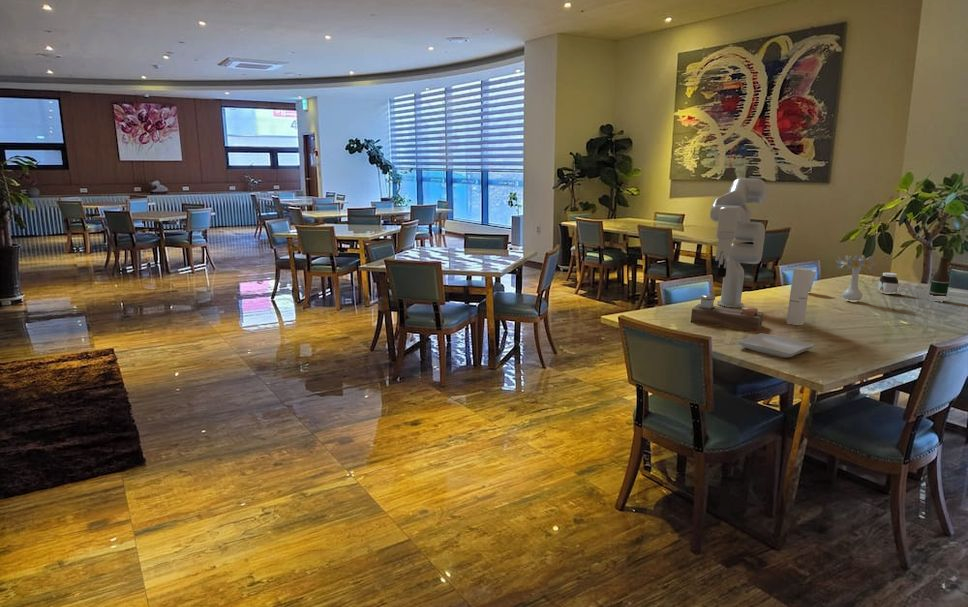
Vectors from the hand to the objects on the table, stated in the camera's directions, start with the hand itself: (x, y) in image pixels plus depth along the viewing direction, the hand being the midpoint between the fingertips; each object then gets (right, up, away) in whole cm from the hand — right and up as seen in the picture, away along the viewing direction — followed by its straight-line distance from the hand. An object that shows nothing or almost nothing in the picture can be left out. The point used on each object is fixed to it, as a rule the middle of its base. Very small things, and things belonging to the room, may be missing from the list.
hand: (721, 276), depth 273 cm
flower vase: (+90, -11, +55) cm, 106 cm away
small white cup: (-4, -15, +6) cm, 16 cm away
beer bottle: (+140, -11, +61) cm, 153 cm away
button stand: (+3, -21, +3) cm, 21 cm away
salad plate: (+7, -30, -35) cm, 47 cm away
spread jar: (+126, -7, +77) cm, 147 cm away
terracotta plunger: (+11, -20, -3) cm, 23 cm away
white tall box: (+35, -21, +5) cm, 41 cm away
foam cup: (+76, -6, +76) cm, 107 cm away
